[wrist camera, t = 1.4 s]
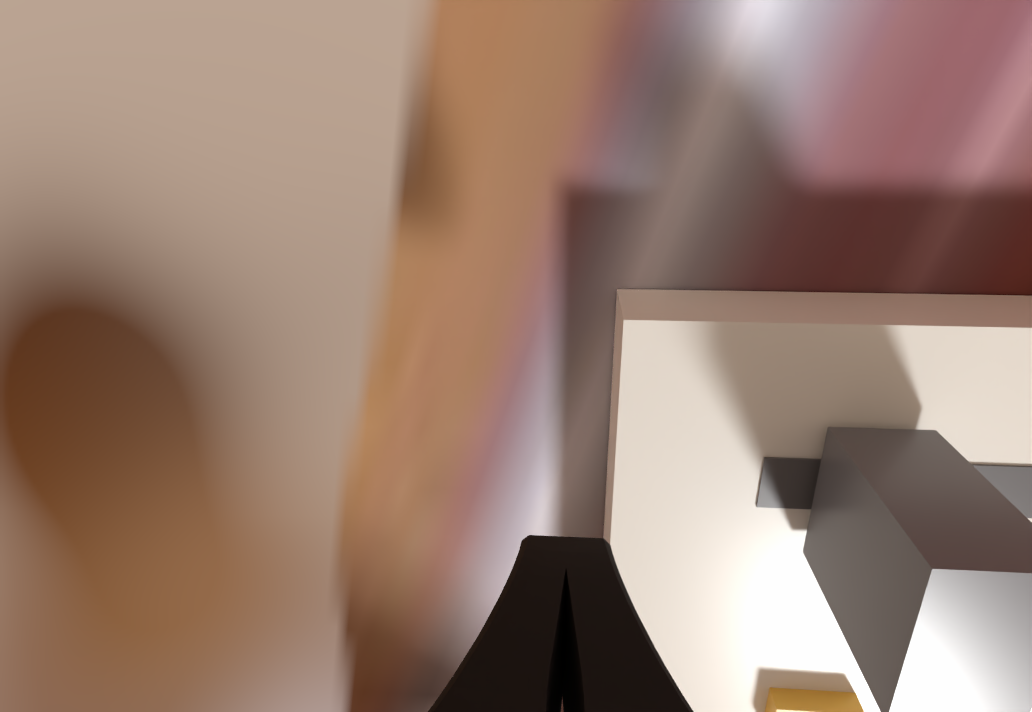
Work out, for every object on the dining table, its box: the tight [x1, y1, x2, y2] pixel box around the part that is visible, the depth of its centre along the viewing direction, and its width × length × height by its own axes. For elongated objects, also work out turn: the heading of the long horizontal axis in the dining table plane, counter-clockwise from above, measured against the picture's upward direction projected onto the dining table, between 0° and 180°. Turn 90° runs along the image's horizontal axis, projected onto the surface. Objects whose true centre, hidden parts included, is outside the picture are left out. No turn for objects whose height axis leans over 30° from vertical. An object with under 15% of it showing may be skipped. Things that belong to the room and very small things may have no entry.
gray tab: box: [803, 427, 1032, 712], centre depth 11 cm, size 3×2×4 cm, turn 1°
